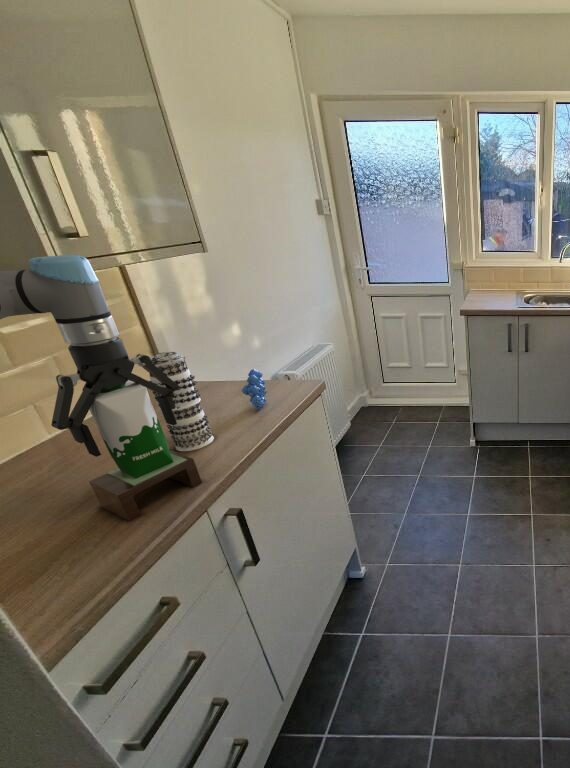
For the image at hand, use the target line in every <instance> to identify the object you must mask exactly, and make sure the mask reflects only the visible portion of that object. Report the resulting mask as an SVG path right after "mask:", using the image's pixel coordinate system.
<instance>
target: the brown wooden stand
mask: <svg viewBox="0 0 570 768" xmlns="http://www.w3.org/2000/svg"><path fill="white" fill-rule="evenodd" d="M169 450H170V453H171V456H172V459H173V461H174V462H172V463H170V464H167V465H165V466H163V467H161V468H158V469H156V470H154V471H152V472H149V473H147V474H145V475H143V476H140V477H138V478H136V479H135V478H134V477H132V476H130V475H129V474H127V473H125V472H123V471H122V470H120V469H119V467H118V468H116V469H114V470H111V471H109V472H107V473H105V474H102V475H100V476H97V477H96V478H93V479H91V480H88V483H89V485H90V487H91V489H92V491H93V492H94V495H95V497H96V499H97V500H98V503H99V505H100V507H102V508H104V509H105V510H107V511H109V512H111V513H113V514H116V515H117V516H119V517H120V518H123V519H124V520H127V521H129V522H131V521H133V520H135V519H137V518H139V517H140V516H142V513H141V511H140V509H139V507H138V505H137V502H136V500H135V499H134V495H135V494H138V493H140V492H141V491H144V490H146V489H148V488H150V487H152V486H154V485H156V484H159V483H160V482H163V481H164V480H166V479H168V478H170V479H172V480H175V481H177V482H179V483H182V484H184V485H187V486H189V487H192V488H195V487H196V486H198V485H200V484H201V483H203V481H202V478H201V476H200V473H199V471H198V468H197V465H196V461H195V460H194V457H190V456H188V455H186V454H182V453H179V452H177V451H174V450H171V449H169Z"/></svg>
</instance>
